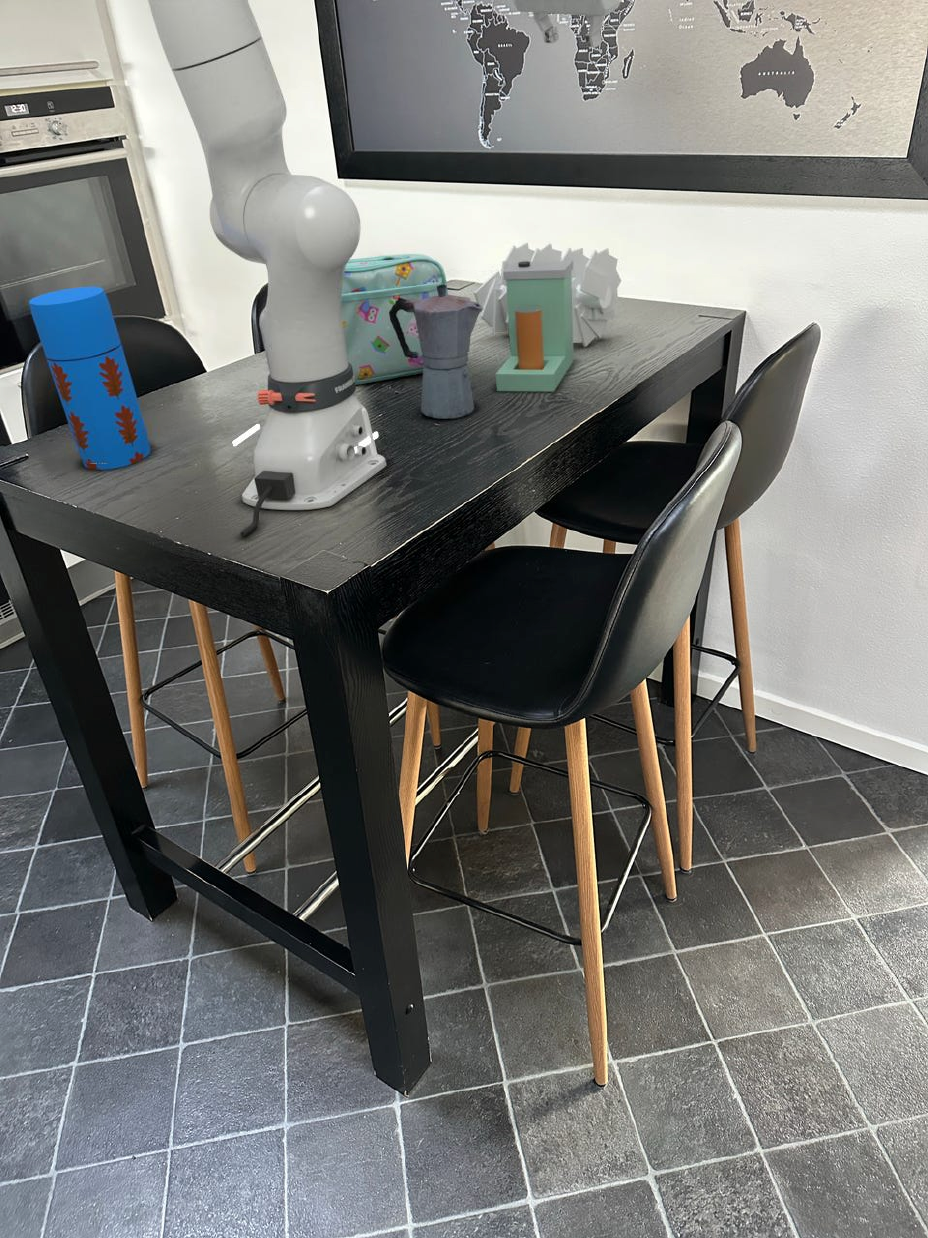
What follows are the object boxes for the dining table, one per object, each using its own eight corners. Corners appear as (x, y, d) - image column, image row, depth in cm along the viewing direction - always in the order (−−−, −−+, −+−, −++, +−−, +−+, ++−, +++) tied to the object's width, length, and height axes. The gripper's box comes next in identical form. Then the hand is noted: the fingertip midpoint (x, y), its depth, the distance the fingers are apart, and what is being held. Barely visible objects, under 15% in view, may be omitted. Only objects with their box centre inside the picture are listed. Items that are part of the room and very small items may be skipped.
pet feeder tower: (567, 372, 160) (564, 265, 151) (509, 372, 164) (503, 267, 154) (575, 360, 166) (573, 256, 156) (519, 360, 169) (513, 258, 159)
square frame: (553, 391, 153) (553, 374, 151) (496, 391, 156) (495, 373, 154) (566, 372, 161) (565, 355, 159) (511, 372, 163) (510, 355, 162)
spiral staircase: (517, 347, 190) (621, 355, 175) (464, 330, 176) (572, 337, 161) (532, 255, 186) (639, 255, 172) (479, 231, 173) (590, 229, 158)
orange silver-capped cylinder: (541, 386, 156) (538, 311, 149) (516, 385, 157) (512, 311, 150) (547, 377, 159) (544, 304, 152) (522, 377, 160) (518, 304, 154)
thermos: (112, 474, 139) (58, 307, 126) (68, 464, 144) (11, 303, 131) (165, 448, 146) (120, 287, 133) (121, 440, 152) (74, 284, 138)
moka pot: (486, 420, 144) (475, 290, 133) (392, 422, 147) (375, 294, 136) (496, 400, 152) (487, 275, 141) (407, 401, 155) (392, 279, 144)
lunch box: (314, 394, 163) (291, 269, 152) (310, 377, 172) (288, 258, 160) (459, 371, 166) (447, 248, 155) (448, 356, 175) (436, 238, 164)
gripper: (490, -54, 133) (513, 48, 143) (587, -55, 120) (604, 58, 130) (521, -73, 135) (542, 30, 145) (620, -75, 122) (635, 37, 132)
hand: (572, 43), depth 137 cm, fingers open, 8 cm apart
